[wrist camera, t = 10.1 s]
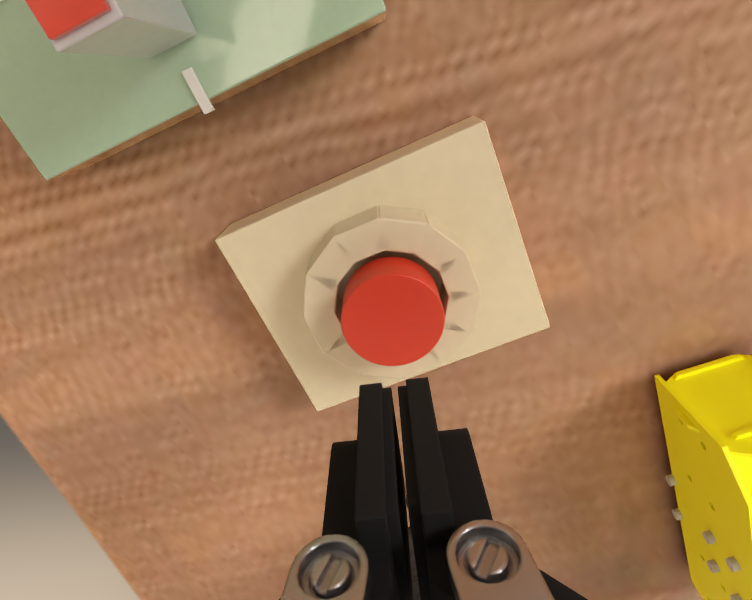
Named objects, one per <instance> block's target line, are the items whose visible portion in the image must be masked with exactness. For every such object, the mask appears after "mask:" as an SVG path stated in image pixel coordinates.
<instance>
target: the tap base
mask: <svg viewBox="0 0 752 600" xmlns="http://www.w3.org/2000/svg"><path fill="white" fill-rule="evenodd" d="M181 2H182V4H183V6H184V8H185V10H186V12H187V14H188V16H189V18H190V19H191V21H192V23H193V25H194V27H195V29H196V31H197V34H196V35H195V36H193V37H191V38H189V39H187V40H185V41H183V42H181V43H179V44H177V45H176V46H174V47H172V48H170V49H168V50H166V51H164V52H162V53H160V54H158V55H156V56H154V57H152V58H135V57H120V56H106V55H91V54H77V53H63V52H57V51H56V50H55V48H54V47H53V45H52V44H51V42H50V40H49V39H48V37H47V36H46V34H45V32H44V31H43V29H42V28H41V26H40V24H39V23H38V21H37V20H36V18H35V16H34V15H33V13H32V12H31V10H30V8H29V7H28V5H27V4H26V2H25V1H24V0H0V117H1V119H2V120H3V121H4V123H5V124H6V126H7V127H8V128H9V130H10V131H11V133H12V134H13V135H14V137H15V138H16V140H17V141H18V142H19V144H20V145H21V147H22V148H23V149H24V151H25V152H26V154H27V155H28V156H29V158H30V159H31V160H32V162H33V163H34V165H35V166H36V167H37V169H38V170H39V172H40V173H41V174H42V176H43V177H44V179H46V180H50V179H53V178H56V177H59V176H62V175H65V174H68V173H71V172H74V171H78V170H81V169H84V168H87V167H90V166H92V165H94V164H96V163H98V162H100V161H102V160H104V159H106V158H108V157H110V156H112V155H114V154H116V153H118V152H120V151H122V150H124V149H126V148H128V147H130V146H132V145H134V144H136V143H138V142H140V141H143V140H145V139H147V138H149V137H151V136H153V135H155V134H157V133H159V132H161V131H163V130H165V129H167V128H169V127H171V126H173V125H175V124H177V123H179V122H181V121H183V120H185V119H187V118H189V117H191V116H193V115H195V114H197V113H199V112H201V111H203V113H204V114H208V113H210V112H212V111H214V110H215V109H214V107H213V105H215V104H217V103H219V102H221V101H223V100H225V99H227V98H229V97H231V96H233V95H235V94H237V93H239V92H241V91H243V90H245V89H247V88H249V87H251V86H253V85H255V84H257V83H259V82H261V81H263V80H265V79H267V78H269V77H271V76H274V75H276V74H278V73H280V72H282V71H284V70H286V69H288V68H290V67H292V66H294V65H296V64H298V63H300V62H302V61H304V60H306V59H308V58H310V57H312V56H314V55H316V54H318V53H320V52H322V51H324V50H326V49H328V48H330V47H332V46H334V45H336V44H338V43H340V42H342V41H344V40H346V39H348V38H350V37H352V36H354V35H356V34H358V33H360V32H362V31H364V30H366V29H368V28H370V27H372V26H374V25H376V24H378V23H380V22H382V21H383V20H384V17H385V13H386V6H385V4H384V1H383V0H181Z"/></svg>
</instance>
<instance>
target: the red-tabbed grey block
mask: <svg viewBox="0 0 752 600" xmlns="http://www.w3.org/2000/svg"><path fill="white" fill-rule="evenodd" d="M24 1H25V2H26V4H27V5H28V7H29V8H30V10H31V12H32V13H33V15H34V16H35V18H36V20H37V21H38V23H39V24H40V26H41V28H42V29H43V31H44V32H45V34H46V36H47V37H48V39H49V40H50V42H51V44H52V45H53V47H54V48H55V50H56V51H57V52H63V53H77V54H91V55H106V56H120V57H135V58H152V57H154V56H156V55H158V54H160V53H162V52H164V51H166V50H168V49H170V48H172V47H174V46H176V45H177V44H179V43H181V42H183V41H185V40H187V39H189V38H191V37H193V36H195V35H196V34H197V31H196V29H195V27H194V25H193V23H192V21H191V19H190V18H189V16H188V14H187V12H186V10H185V8H184V6H183V4H182V2H181V0H24Z"/></svg>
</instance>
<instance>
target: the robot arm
mask: <svg viewBox="0 0 752 600" xmlns="http://www.w3.org/2000/svg"><path fill="white" fill-rule="evenodd" d="M398 395H399V407H400V418H401V430H402V442H403V454H404V465H405V477H406V489H407V500H408V511H409V519H410V527H411V534H412V541H413V548H414V555H415V563H416V570H417V577H418V584H419V591H420V598H421V600H587V599H586V598H584V597H583V596H581V595H579V594H578V593H576V592H575V591H573V590H572V589H570V588H568V587H567V586H565V585H564V584H562V583H560V582H559V581H557V580H556V579H554V578H552V577H551V576H549V575H548V574H546V573H544V572H543V571H541V570H540V569H539V568H538V567H537V565H536V563H535V561H534V559H533V557H532V555H531V553H530V551H529V549H528V547H527V545H526V543H525V542H524V541H523V539H522V538H521V536H520V535H519V534H518V533H517V532H515V531H514V530H513V529H512V528H510V527H509V526H507V525H505V524H502V523H500V522H498V521H493V519H492V515H491V511H490V508H489V504H488V500H487V497H486V493H485V489H484V486H483V482H482V479H481V475H480V471H479V468H478V464H477V460H476V457H475V453H474V449H473V446H472V442H471V438H470V435H469V432H468V429H467V428H464V429H455V430H446V431H438V429H437V424H436V418H435V413H434V408H433V403H432V397H431V392H430V387H429V381H428V377H426V378H417V379H408V380H406V386H400V387H398ZM279 600H414V598H413V586H412V573H411V561H410V549H409V536H408V524H407V512H406V499H405V487H404V477H403V469H402V462H401V455H400V448H399V440H398V433H397V426H396V419H395V412H394V405H393V398H392V391H391V388H383V386H382V383H373V384H365V385H360V386H359V409H358V435H357V440H354V441H345V442H335V443H333V444H332V449H331V457H330V467H329V476H328V485H327V495H326V504H325V513H324V522H323V532H322V537H320V538H317V539H315V540H313V541H312V542H310V543H309V544H307V545H306V546H305V547H304V548H303V549H302V550H301V551H300V552H299V553H298V554H297V556H296V557H295V559H294V561H293V563H292V565H291V568H290V571H289V574H288V577H287V580H286V583H285V586H284V590H283V593H282V596H281V598H280V599H279Z"/></svg>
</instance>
